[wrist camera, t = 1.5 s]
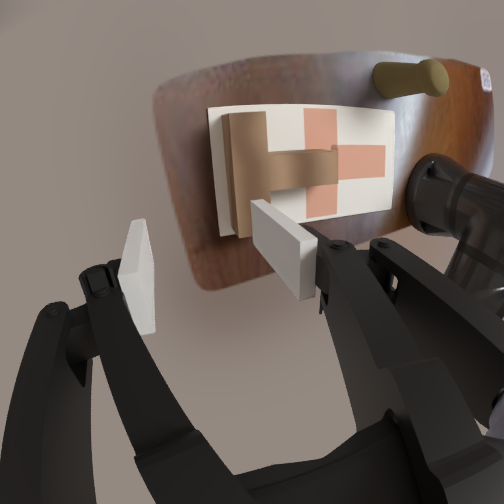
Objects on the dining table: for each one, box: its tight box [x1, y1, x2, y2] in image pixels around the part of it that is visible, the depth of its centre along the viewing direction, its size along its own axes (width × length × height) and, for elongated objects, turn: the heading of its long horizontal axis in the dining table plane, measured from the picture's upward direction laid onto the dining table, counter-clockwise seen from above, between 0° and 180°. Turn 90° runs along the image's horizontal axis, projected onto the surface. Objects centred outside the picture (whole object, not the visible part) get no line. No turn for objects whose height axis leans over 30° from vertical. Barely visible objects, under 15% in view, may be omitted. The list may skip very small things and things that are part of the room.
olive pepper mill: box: [373, 59, 449, 99], centre depth 30 cm, size 6×6×11 cm
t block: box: [221, 111, 338, 238], centre depth 34 cm, size 13×14×4 cm
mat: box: [208, 104, 395, 237], centre depth 37 cm, size 28×16×1 cm, turn 94°
